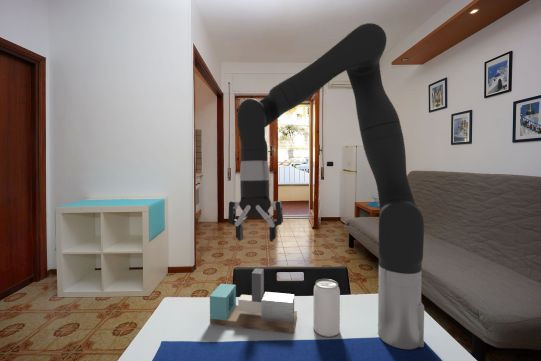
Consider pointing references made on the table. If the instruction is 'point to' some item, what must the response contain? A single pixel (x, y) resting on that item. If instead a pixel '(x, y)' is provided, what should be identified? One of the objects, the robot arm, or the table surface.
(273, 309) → the grey speckled block
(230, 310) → the socket
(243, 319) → the board
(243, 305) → the sliding bolt
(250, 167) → the robot arm
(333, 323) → the can
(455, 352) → the table surface
